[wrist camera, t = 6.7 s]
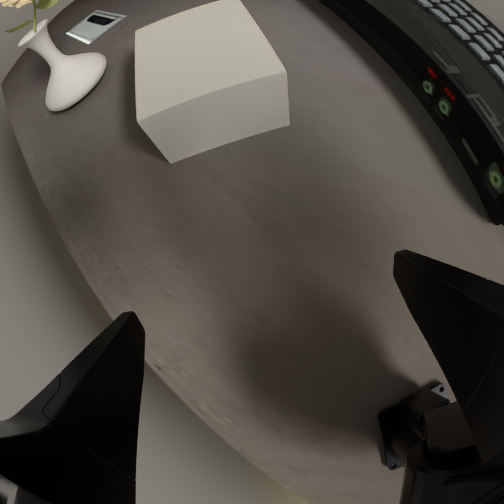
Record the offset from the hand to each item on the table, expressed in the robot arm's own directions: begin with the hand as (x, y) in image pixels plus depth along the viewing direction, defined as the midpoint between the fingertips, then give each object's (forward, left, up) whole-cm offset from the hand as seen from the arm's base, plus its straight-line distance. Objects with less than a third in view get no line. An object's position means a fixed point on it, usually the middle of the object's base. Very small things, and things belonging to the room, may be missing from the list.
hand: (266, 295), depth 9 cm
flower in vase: (+38, +18, -14) cm, 44 cm away
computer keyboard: (+22, -35, -14) cm, 44 cm away
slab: (+24, 0, -14) cm, 27 cm away
